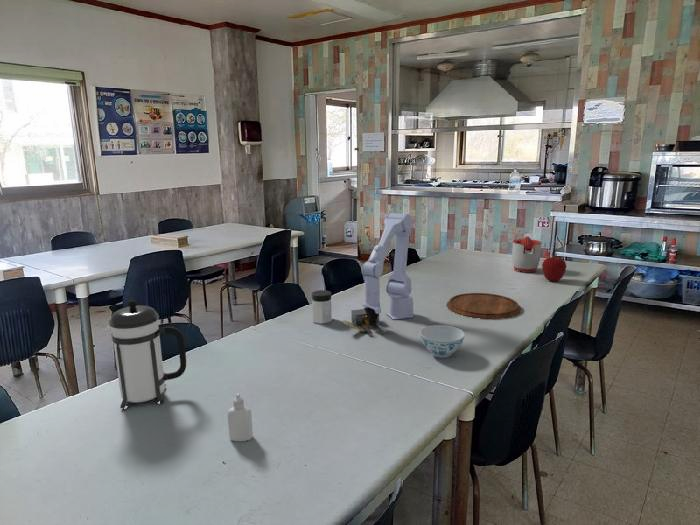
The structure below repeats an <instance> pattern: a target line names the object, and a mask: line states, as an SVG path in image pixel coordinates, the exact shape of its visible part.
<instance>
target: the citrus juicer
mask: <svg viewBox="0 0 700 525" xmlns="http://www.w3.org/2000/svg"><path fill="white" fill-rule="evenodd" d="M542 243H543V242H542V240H537V239H531V237H530V236H529V235H527V236H525V237H524V238H522V239H521V238H520V239H519V238H518V239H513V240H512V251H511V253H512V254H511V255H512V256H511V257H512V258H511V261H512V266H513V268H514V270H515V271H516V270H518V271H517V272H519V271H523V272H522V273H534V272H533V271H535V272H536V271H537V270H538V267H539V265H540V260H541V252H542V251H541V250H542Z"/></svg>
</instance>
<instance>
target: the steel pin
mask: <svg viewBox="0 0 700 525" xmlns="http://www.w3.org/2000/svg"><path fill="white" fill-rule="evenodd" d="M363 324H364V325H365V326H366V327H367V328H372V327H374V326H370V325H369V321H368V317H367V315H364V316H363Z"/></svg>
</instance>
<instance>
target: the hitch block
mask: <svg viewBox="0 0 700 525" xmlns="http://www.w3.org/2000/svg"><path fill="white" fill-rule="evenodd" d="M350 311H351V323H353V324H355V325H357V326H359V327H363V328H364V329H365V330H366V335H368V337H369V338H370V337H371V338H372V337H374V336H373V334H374V333H373V331H371V329H369V327H366V326H365V325H364V324H363V316H364V315H367V314H366V311H365V310H364V308H362V309H352V310H350ZM374 327H375V328H376V329H377V330H378V331H379V332H380V333H381V335H383V336H385V335H386V336H387V330H386V329H385V328H384V327H383V326H381V325H380V314H379V315H378V317H377V321H376V325H375V326H374Z"/></svg>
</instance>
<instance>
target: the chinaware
mask: <svg viewBox="0 0 700 525" xmlns="http://www.w3.org/2000/svg"><path fill="white" fill-rule="evenodd" d="M465 336H466V334H465V332H464V331H463V330H462V329H460V328H457V327H455V326H450V325H443V324H441V325H440V324H438V325H437V324H436V325H428V326H425V327H423V328H421V330H420V338H421V341H422V343H423V345H424V347H425V348H426V349H427V350H428V351H429V352H431V354H432V356H434V357H436V358H440V357H441V358H445V357H446V358H450V357H451V356H452V354H453V353H455V352H456V351H458V350H459V348H461V346H462V344H463V342H464V339H465ZM449 356H450V357H449Z"/></svg>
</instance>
